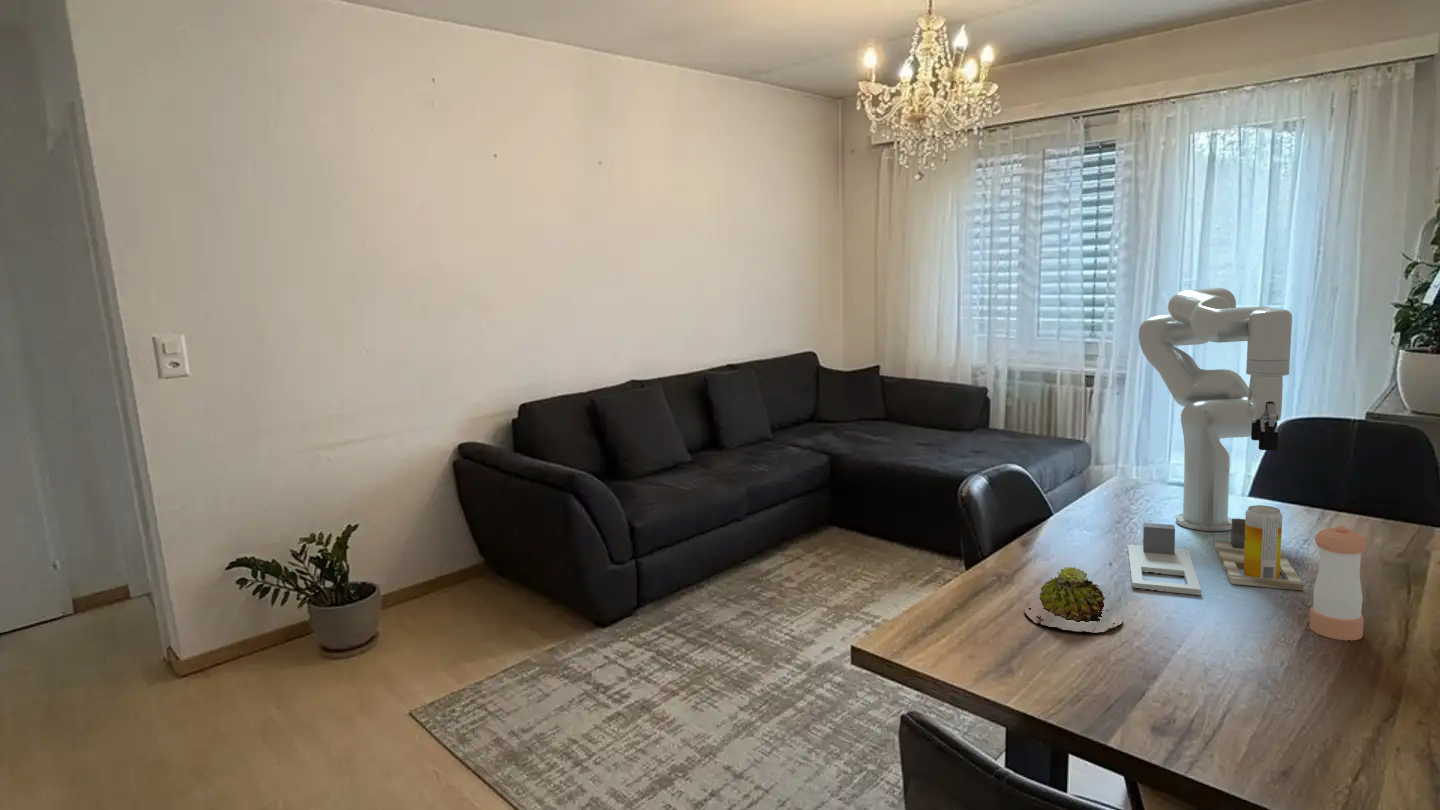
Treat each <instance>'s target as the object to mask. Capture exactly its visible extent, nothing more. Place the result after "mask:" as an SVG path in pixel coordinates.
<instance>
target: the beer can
mask: <svg viewBox="0 0 1440 810" xmlns="http://www.w3.org/2000/svg"><path fill="white" fill-rule="evenodd" d="M1247 508H1248V509H1247V510H1246V511H1245V543H1244V568H1242V573H1243V576H1250V577H1261V578H1272V579H1280V576H1281V572H1280V556H1281V551H1282V533H1283V532H1282V530H1283V515H1282V513H1281V510H1280V509H1279V508H1277V507H1274V506H1272V505H1271V506H1270V505H1269V506H1268V505H1261V504H1256V505H1250V506H1248V507H1247Z"/></svg>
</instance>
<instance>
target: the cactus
mask: <svg viewBox="0 0 1440 810" xmlns="http://www.w3.org/2000/svg"><path fill="white" fill-rule="evenodd" d="M1059 570H1060V571H1057V576H1058V577H1056V576H1054V578H1051V577H1050V580H1047V581H1046V582H1044V584H1042V585H1041V587H1040V593H1039V599H1040V600H1041V602H1042V605H1043V607H1044V608H1043V609H1045V610H1047V611H1048V612H1051V613H1053V614H1054V615H1055V616H1060V617H1062V618H1065V619H1066V620H1074V621H1076V622H1080V621H1085V622H1089V621H1097V622H1098V621H1100V619H1099V618H1098V617H1102V616H1101V614H1102V612H1101V611H1103V610H1102V609H1103V607H1104V604H1105V603H1104V601H1105V600H1106V598H1107V597H1105V596H1104V595H1103V594H1105V593H1106V592H1104V591H1102V588H1101V589H1100V586H1101V585H1098V584H1093V583H1094V582H1093V580H1089V578H1087V575H1088V573H1087V572H1085V571H1084V570H1081V569H1079V568H1076V567H1075V566H1073V567H1072V566H1069V567H1064V568H1063V569H1062V568H1060V569H1059ZM1107 611H1108V610H1107ZM1113 624H1115V623H1113ZM1113 626H1114V625H1113ZM1115 628H1117V627H1115ZM1115 628H1114V629H1115ZM1111 629H1112V628H1110V629H1108V630H1107V631H1109V630H1111Z"/></svg>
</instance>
